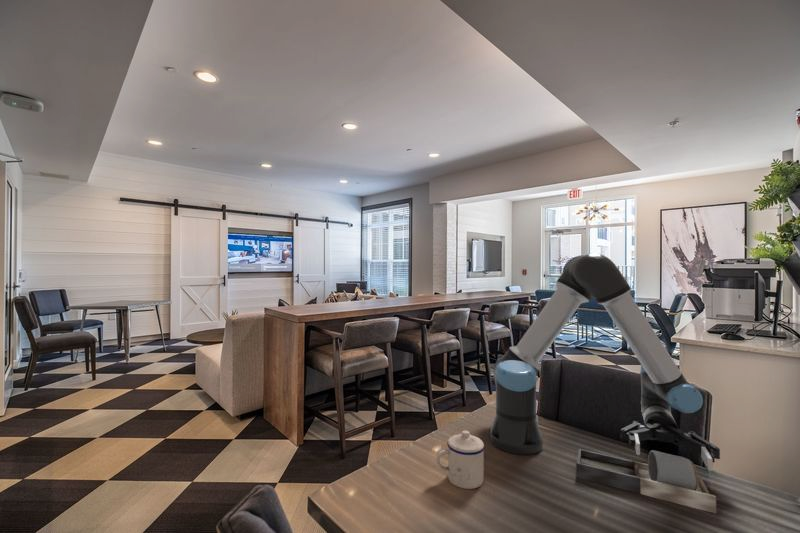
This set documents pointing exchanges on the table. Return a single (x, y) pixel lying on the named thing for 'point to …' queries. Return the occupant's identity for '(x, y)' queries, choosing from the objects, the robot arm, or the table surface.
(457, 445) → the teacup with lid
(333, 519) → the table surface
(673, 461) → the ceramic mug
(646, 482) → the box
